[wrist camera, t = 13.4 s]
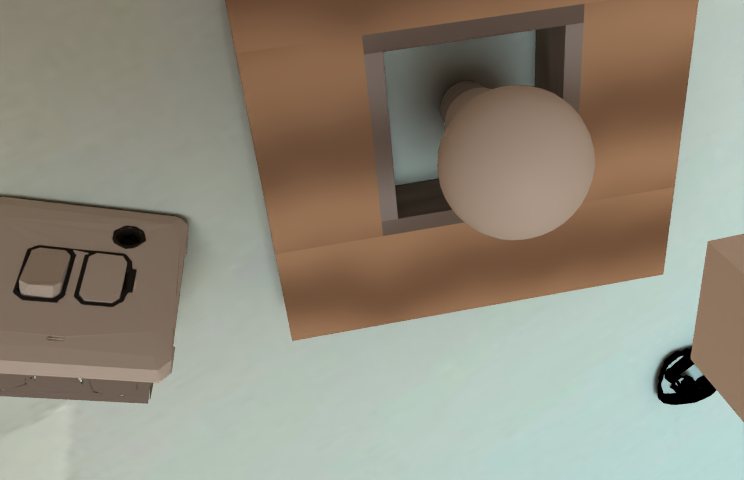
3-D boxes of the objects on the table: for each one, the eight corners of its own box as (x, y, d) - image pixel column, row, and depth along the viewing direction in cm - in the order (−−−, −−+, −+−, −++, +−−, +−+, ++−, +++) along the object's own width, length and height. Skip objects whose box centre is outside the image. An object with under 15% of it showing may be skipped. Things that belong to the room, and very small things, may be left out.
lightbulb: (531, 42, 34) (643, 118, 25) (507, 159, 37) (600, 268, 28) (407, 34, 33) (475, 111, 24) (393, 156, 36) (448, 269, 27)
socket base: (211, -95, 29) (208, -87, 26) (671, -151, 31) (717, -150, 28) (288, 302, 39) (292, 340, 36) (632, 242, 41) (663, 274, 38)
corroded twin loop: (770, 334, 47) (781, 344, 46) (673, 408, 49) (681, 419, 48) (735, 295, 45) (745, 304, 44) (634, 374, 47) (642, 384, 46)
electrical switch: (191, 214, 36) (175, 339, 28) (183, 293, 39) (165, 427, 31) (-12, 190, 34) (-89, 320, 26) (-6, 276, 36) (-73, 416, 29)
